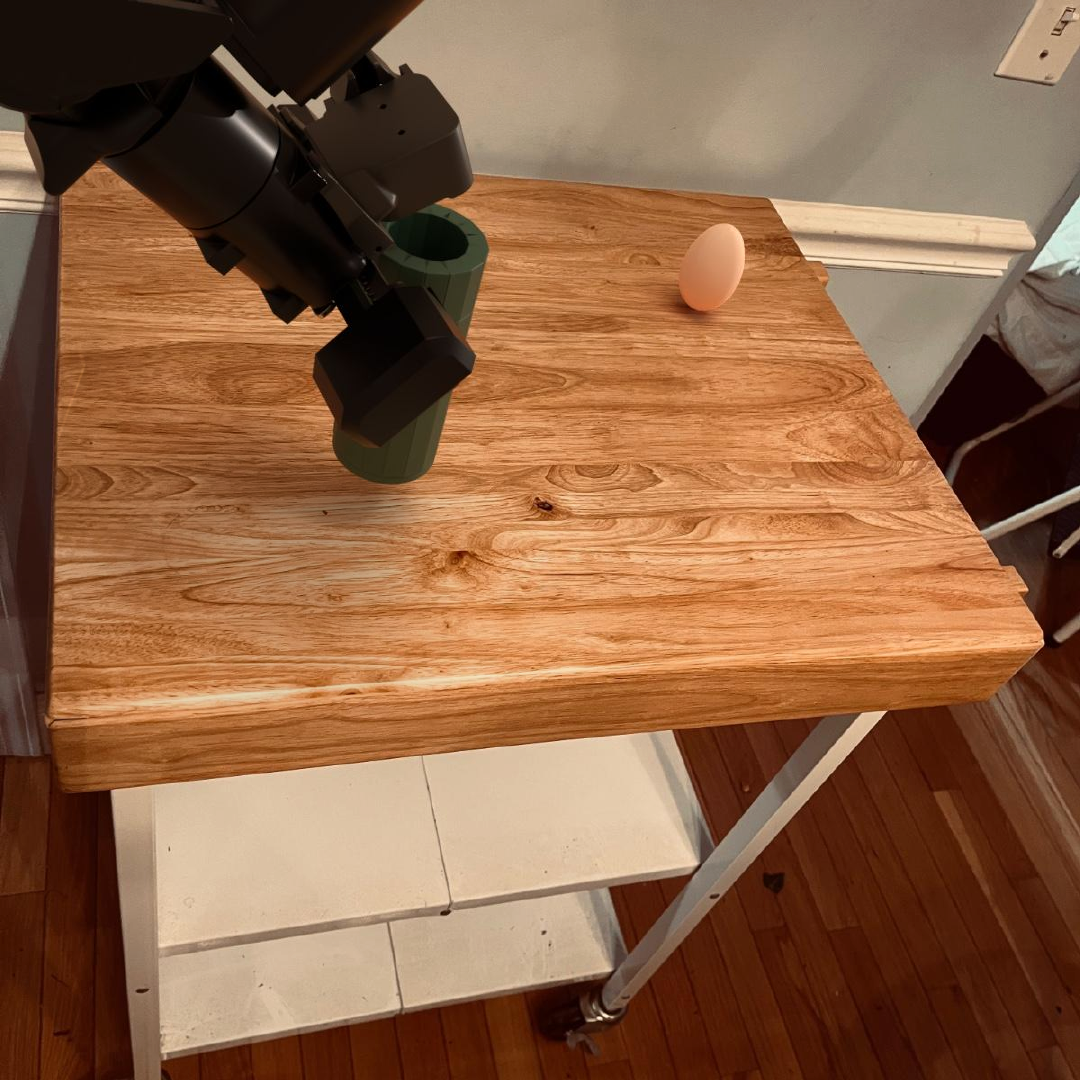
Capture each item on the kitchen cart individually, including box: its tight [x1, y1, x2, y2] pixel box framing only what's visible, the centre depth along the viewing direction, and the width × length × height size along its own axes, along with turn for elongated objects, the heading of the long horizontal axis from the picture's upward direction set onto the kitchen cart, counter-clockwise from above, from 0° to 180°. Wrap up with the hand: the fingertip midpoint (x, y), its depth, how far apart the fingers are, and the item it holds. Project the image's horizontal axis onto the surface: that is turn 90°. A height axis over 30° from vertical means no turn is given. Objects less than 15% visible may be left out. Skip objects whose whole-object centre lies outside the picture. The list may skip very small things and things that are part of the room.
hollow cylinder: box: [331, 203, 490, 486], centre depth 55 cm, size 6×6×14 cm
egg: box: [678, 223, 746, 312], centre depth 82 cm, size 5×5×7 cm
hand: (427, 348), depth 56 cm, fingers closed on hollow cylinder, 6 cm apart
